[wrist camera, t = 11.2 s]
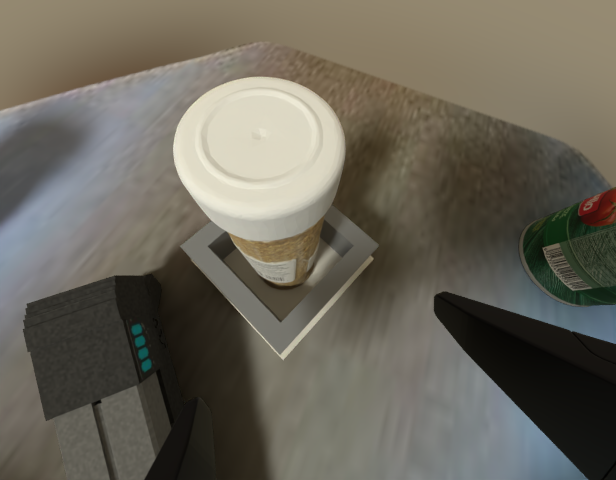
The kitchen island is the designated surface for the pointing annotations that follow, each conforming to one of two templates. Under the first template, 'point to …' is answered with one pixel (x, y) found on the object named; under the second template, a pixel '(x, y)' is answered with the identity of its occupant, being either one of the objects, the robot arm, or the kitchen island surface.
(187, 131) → the sprinkles bottle
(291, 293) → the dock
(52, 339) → the gun
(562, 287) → the canned tomato
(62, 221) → the kitchen island surface
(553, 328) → the robot arm
